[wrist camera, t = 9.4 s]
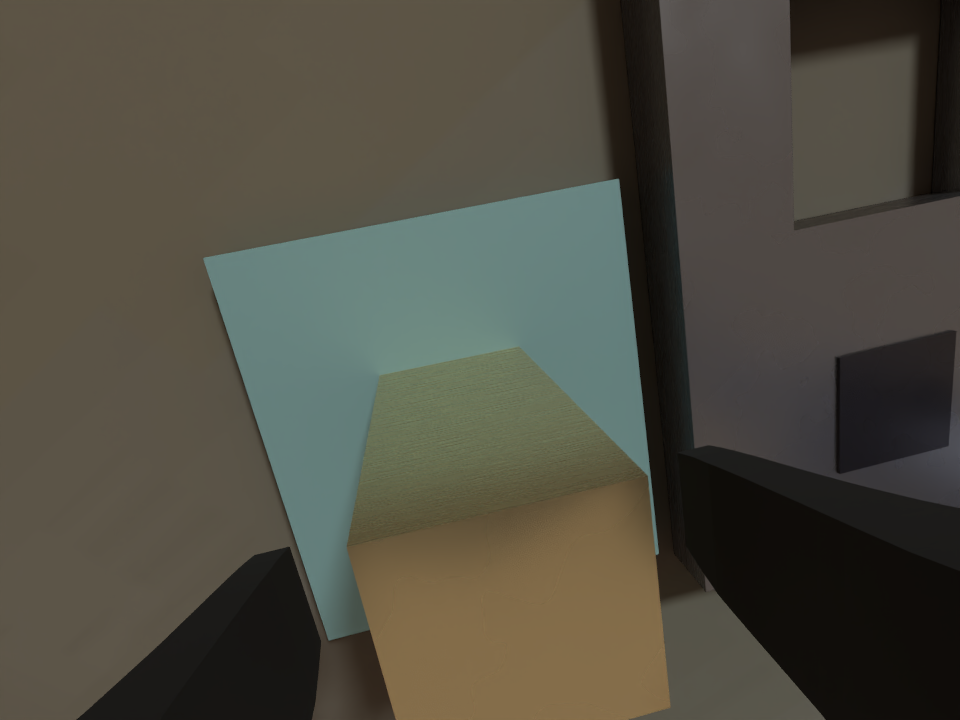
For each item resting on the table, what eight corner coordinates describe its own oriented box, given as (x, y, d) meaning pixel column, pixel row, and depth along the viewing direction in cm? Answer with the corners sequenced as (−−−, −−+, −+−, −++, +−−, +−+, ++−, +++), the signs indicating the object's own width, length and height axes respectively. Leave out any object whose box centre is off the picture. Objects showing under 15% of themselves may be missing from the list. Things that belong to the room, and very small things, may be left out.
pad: (645, 536, 18) (659, 554, 17) (333, 617, 17) (328, 640, 16) (604, 182, 15) (619, 178, 14) (217, 256, 14) (203, 258, 13)
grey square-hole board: (994, 469, 19) (1063, 497, 17) (674, 553, 18) (707, 593, 16) (1064, -265, 13) (1181, -353, 11) (600, -210, 12) (637, -296, 10)
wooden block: (539, 471, 15) (670, 707, 8) (410, 501, 15) (413, 780, 7) (518, 346, 14) (647, 475, 7) (379, 375, 14) (346, 547, 6)
